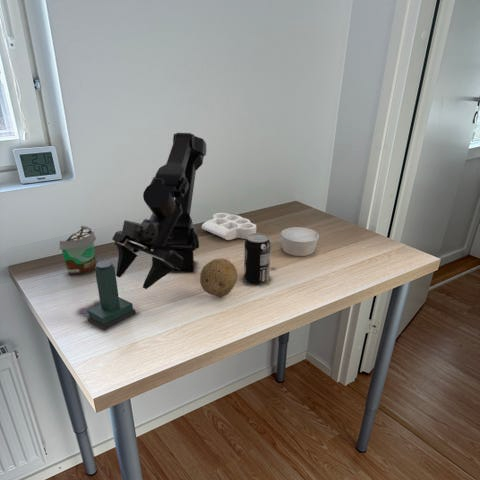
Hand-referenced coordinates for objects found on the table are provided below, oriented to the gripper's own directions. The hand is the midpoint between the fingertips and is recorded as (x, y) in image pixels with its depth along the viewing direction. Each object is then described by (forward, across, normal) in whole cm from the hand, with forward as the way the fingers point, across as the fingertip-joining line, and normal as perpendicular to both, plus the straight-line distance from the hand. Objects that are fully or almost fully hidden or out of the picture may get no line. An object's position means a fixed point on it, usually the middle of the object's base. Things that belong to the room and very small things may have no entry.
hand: (130, 282), depth 107 cm
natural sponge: (-7, +13, +16) cm, 22 cm away
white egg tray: (-27, -12, +32) cm, 44 cm away
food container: (+1, -26, +9) cm, 27 cm away
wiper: (+9, 0, 0) cm, 9 cm away
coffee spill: (+9, -6, 0) cm, 11 cm away
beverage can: (-16, +14, +26) cm, 34 cm away
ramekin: (-33, +13, +43) cm, 55 cm away
